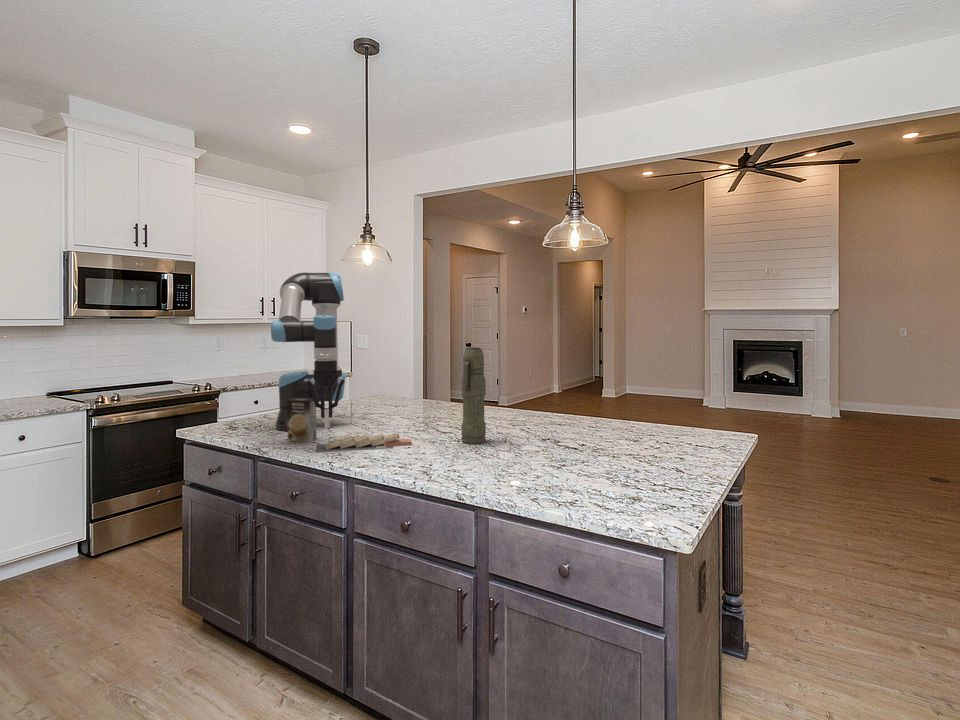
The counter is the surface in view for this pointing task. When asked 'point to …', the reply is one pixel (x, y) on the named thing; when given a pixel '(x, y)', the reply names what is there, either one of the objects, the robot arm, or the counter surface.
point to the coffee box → (301, 420)
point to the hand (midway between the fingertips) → (327, 426)
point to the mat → (349, 448)
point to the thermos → (473, 397)
